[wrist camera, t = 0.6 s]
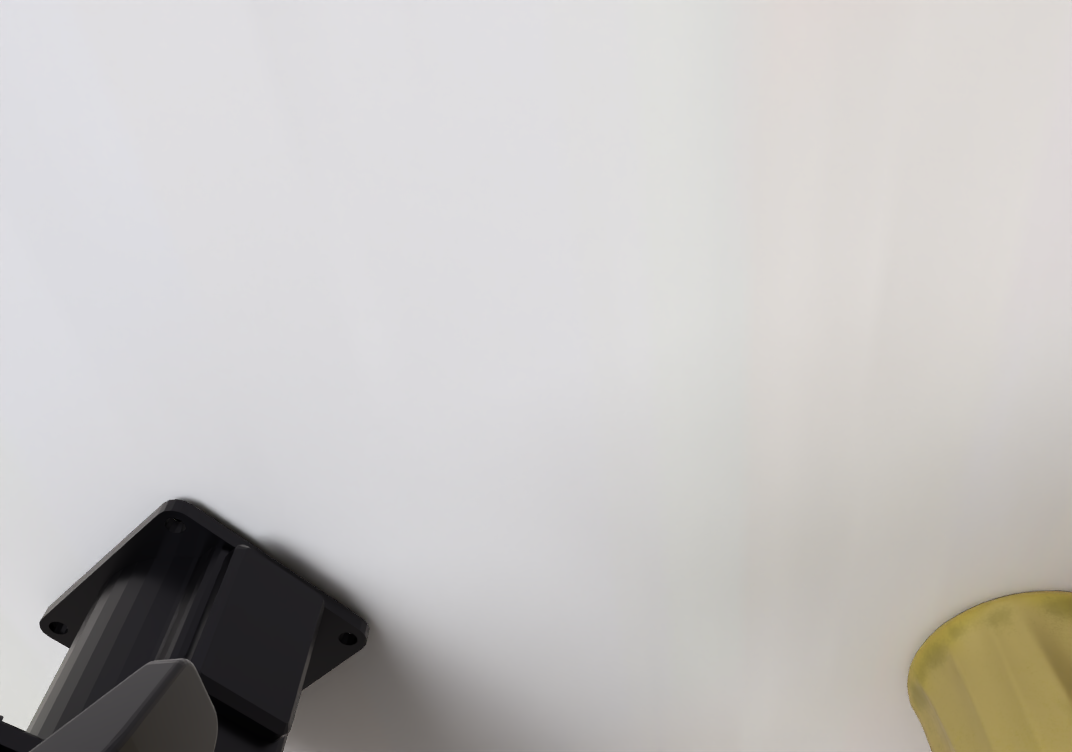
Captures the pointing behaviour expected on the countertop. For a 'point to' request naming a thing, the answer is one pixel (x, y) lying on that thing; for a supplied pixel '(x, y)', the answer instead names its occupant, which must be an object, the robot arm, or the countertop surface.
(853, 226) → the countertop surface
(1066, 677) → the vase
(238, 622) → the robot arm
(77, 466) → the countertop surface
